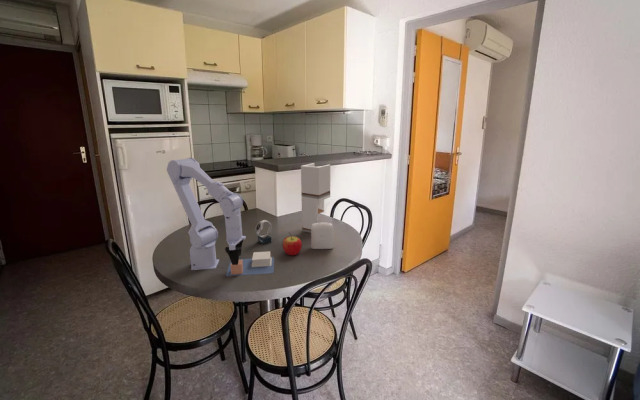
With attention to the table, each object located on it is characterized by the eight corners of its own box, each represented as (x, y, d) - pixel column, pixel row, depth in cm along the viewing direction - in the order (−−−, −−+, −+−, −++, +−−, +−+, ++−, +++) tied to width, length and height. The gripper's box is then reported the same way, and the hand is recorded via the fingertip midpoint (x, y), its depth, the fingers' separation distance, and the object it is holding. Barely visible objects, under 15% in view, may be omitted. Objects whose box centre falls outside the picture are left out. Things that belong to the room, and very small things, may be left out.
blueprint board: (225, 277, 114) (225, 276, 114) (231, 260, 127) (231, 259, 127) (273, 274, 116) (273, 272, 116) (274, 258, 130) (274, 256, 130)
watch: (254, 242, 146) (252, 221, 143) (269, 238, 151) (268, 217, 148) (259, 246, 142) (258, 224, 139) (274, 242, 147) (273, 220, 144)
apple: (292, 248, 139) (291, 228, 137) (306, 253, 134) (305, 232, 131) (279, 254, 133) (278, 233, 130) (293, 260, 128) (292, 238, 125)
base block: (252, 266, 121) (252, 259, 121) (254, 258, 128) (253, 252, 127) (270, 265, 122) (269, 258, 121) (270, 257, 129) (270, 251, 128)
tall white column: (319, 234, 156) (318, 167, 147) (302, 231, 161) (300, 165, 152) (330, 228, 165) (330, 164, 156) (313, 224, 170) (313, 163, 161)
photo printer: (311, 249, 138) (310, 224, 135) (311, 245, 142) (311, 221, 139) (333, 249, 138) (333, 224, 135) (333, 245, 142) (333, 221, 139)
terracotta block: (231, 274, 115) (230, 265, 114) (232, 269, 119) (232, 260, 118) (242, 273, 116) (241, 264, 115) (243, 268, 119) (242, 259, 118)
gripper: (242, 232, 106) (245, 267, 109) (246, 219, 120) (249, 251, 123) (221, 233, 105) (225, 269, 109) (228, 220, 119) (231, 252, 123)
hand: (236, 259), depth 116 cm, fingers open, 7 cm apart
